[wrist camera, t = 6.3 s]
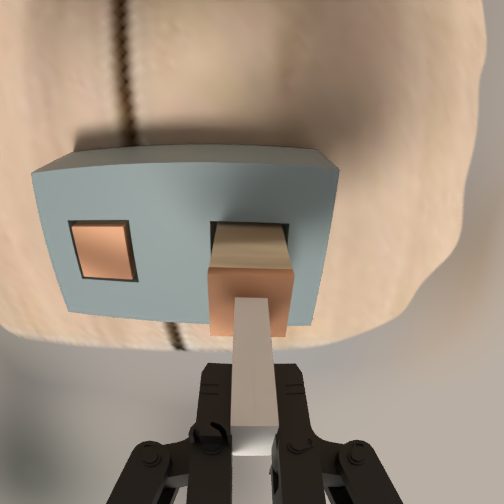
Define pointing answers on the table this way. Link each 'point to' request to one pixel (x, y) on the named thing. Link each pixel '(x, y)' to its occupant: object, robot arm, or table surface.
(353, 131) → the table surface
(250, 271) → the peg
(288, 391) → the robot arm
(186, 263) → the socket block
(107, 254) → the peg
